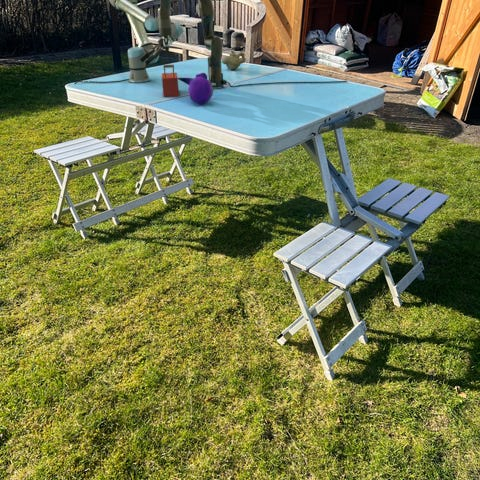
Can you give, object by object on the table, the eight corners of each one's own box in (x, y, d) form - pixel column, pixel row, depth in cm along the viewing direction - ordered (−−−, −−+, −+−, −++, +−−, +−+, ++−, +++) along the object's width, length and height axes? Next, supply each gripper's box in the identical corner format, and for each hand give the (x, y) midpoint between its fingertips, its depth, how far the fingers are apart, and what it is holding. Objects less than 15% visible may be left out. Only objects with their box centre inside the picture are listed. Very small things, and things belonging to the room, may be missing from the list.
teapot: (225, 71, 366) (225, 52, 358) (219, 69, 374) (218, 50, 367) (248, 69, 375) (247, 49, 367) (241, 67, 383) (240, 48, 376)
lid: (177, 79, 287) (176, 65, 283) (162, 79, 286) (160, 66, 282) (176, 73, 303) (175, 60, 298) (162, 74, 301) (160, 61, 297)
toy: (201, 95, 293) (213, 109, 272) (175, 90, 286) (185, 105, 265) (206, 70, 285) (219, 83, 264) (179, 65, 278) (190, 78, 257)
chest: (179, 96, 293) (177, 78, 288) (163, 97, 292) (162, 79, 287) (178, 90, 308) (176, 74, 303) (163, 91, 307) (162, 74, 301)
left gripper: (173, 48, 313) (151, 69, 313) (163, 44, 333) (142, 64, 333) (166, 39, 308) (144, 60, 309) (156, 35, 328) (135, 55, 328)
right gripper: (171, 27, 268) (173, 56, 277) (170, 25, 280) (173, 53, 289) (158, 28, 267) (161, 57, 276) (158, 26, 280) (161, 54, 288)
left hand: (143, 62), depth 321 cm, fingers open, 13 cm apart
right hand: (167, 55), depth 282 cm, fingers open, 8 cm apart
